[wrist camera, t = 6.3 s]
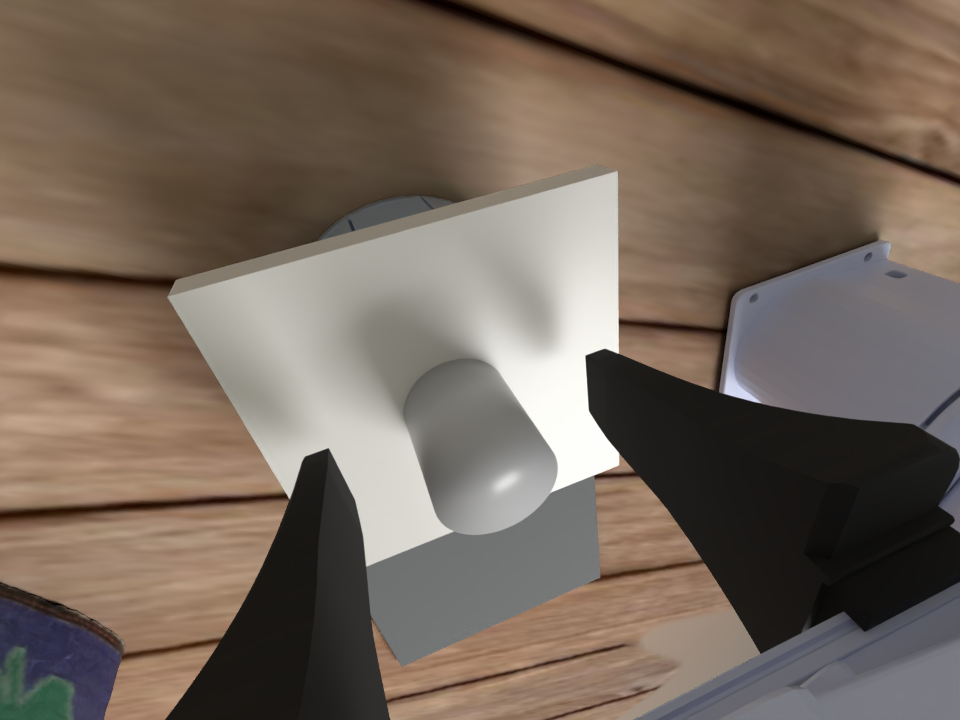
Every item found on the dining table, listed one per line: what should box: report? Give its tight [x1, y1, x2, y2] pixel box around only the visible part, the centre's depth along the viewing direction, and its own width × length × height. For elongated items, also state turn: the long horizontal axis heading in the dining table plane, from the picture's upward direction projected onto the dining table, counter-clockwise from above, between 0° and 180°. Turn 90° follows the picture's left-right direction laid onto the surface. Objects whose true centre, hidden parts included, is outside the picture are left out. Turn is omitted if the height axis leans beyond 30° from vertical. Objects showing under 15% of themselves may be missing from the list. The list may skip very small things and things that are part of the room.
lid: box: [168, 164, 619, 567], centre depth 13 cm, size 11×11×4 cm
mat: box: [366, 475, 600, 666], centre depth 27 cm, size 14×15×1 cm
